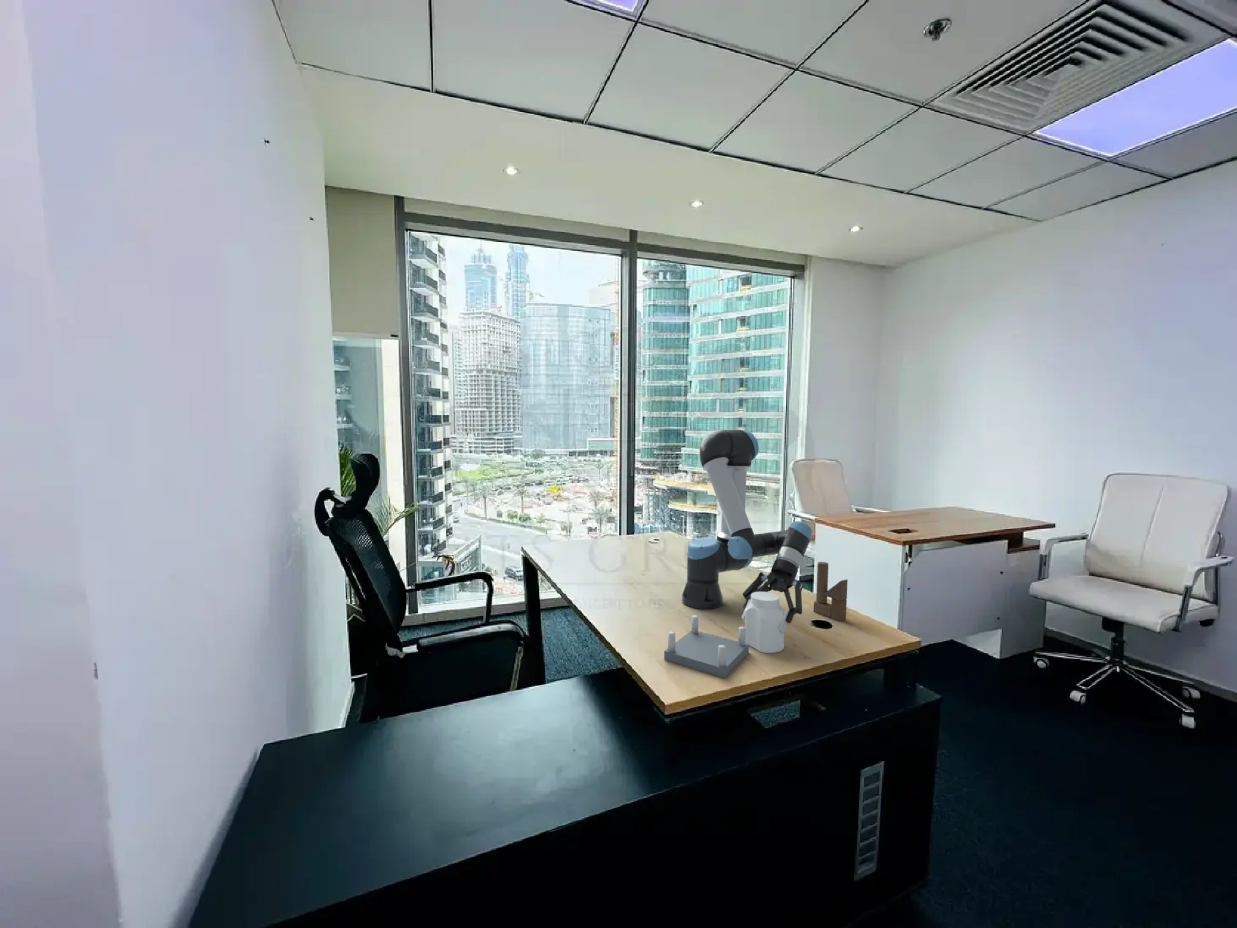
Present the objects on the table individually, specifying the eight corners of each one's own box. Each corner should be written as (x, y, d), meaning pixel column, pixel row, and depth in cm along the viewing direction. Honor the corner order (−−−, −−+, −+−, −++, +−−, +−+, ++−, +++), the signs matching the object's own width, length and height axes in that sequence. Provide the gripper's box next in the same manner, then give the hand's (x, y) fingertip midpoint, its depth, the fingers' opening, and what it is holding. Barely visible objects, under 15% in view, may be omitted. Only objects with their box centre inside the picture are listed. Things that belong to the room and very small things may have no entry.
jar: (790, 648, 145) (791, 598, 144) (768, 655, 140) (769, 604, 139) (760, 634, 155) (761, 588, 154) (738, 641, 150) (739, 593, 149)
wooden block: (839, 621, 166) (841, 569, 165) (813, 611, 175) (814, 562, 174) (846, 619, 168) (848, 568, 166) (819, 609, 177) (821, 560, 176)
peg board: (664, 659, 138) (664, 633, 137) (692, 637, 152) (692, 614, 152) (724, 678, 128) (725, 650, 127) (748, 652, 142) (749, 627, 142)
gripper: (827, 579, 150) (804, 643, 140) (756, 564, 167) (731, 620, 157) (820, 565, 146) (796, 630, 136) (749, 551, 162) (722, 608, 152)
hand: (761, 625), depth 146 cm, fingers closed on jar, 11 cm apart
